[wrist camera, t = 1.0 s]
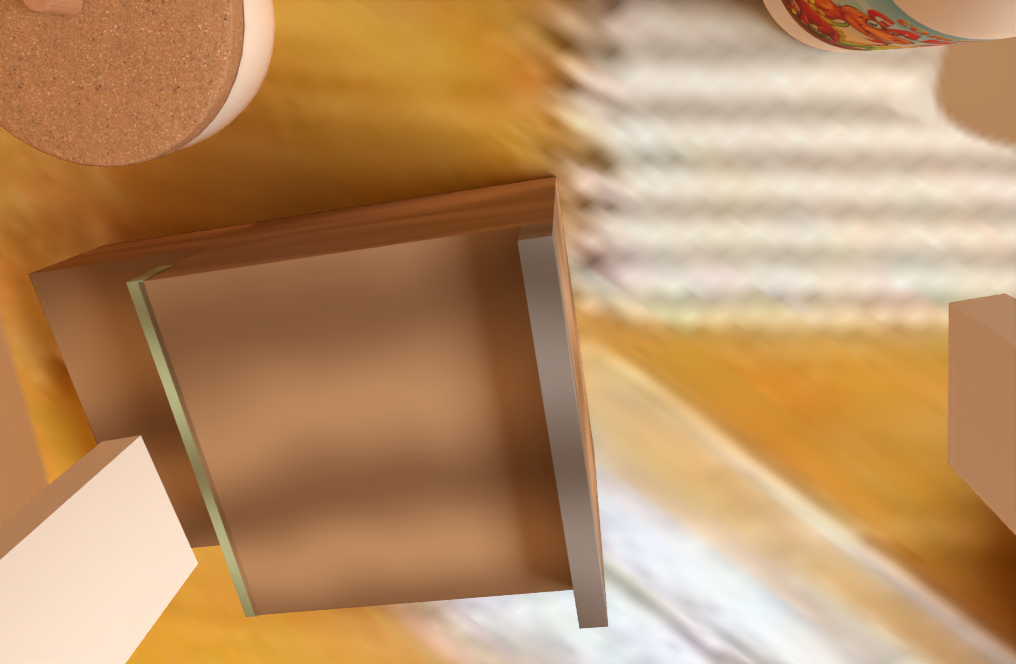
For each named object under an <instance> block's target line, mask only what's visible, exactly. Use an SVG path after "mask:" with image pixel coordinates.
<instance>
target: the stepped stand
mask: <svg viewBox="0 0 1016 664" xmlns="http://www.w3.org/2000/svg"><path fill="white" fill-rule="evenodd" d="M29 276H30V279H31V281H32V284H33V286H34V289H35V291H36V294H37V296H38V299H39V301H40V304H41V306H42V308H43V311H44V313H45V316H46V318H47V321H48V323H49V326H50V328H51V331H52V333H53V336H54V338H55V341H56V343H57V346H58V348H59V350H60V353H61V355H62V358H63V360H64V363H65V365H66V368H67V370H68V373H69V375H70V378H71V380H72V383H73V385H74V387H75V390H76V392H77V395H78V397H79V400H80V402H81V405H82V407H83V410H84V412H85V415H86V417H87V420H88V422H89V425H90V427H91V429H92V432H93V434H94V437H95V439H96V442H97V444H99V443H101V442H103V441H109V440H115V439H121V438H127V437H134V436H140V435H141V437H142V439H143V441H144V444H145V446H146V448H147V450H148V453H149V455H150V457H151V459H152V462H153V464H154V466H155V468H156V470H157V473H158V475H159V477H160V479H161V482H162V484H163V486H164V488H165V491H166V493H167V495H168V497H169V500H170V502H171V504H172V506H173V509H174V511H175V513H176V515H177V518H178V520H179V522H180V524H181V527H182V529H183V531H184V533H185V536H186V538H187V540H188V542H189V544H190V547H191V548H195V547H206V546H217V545H220V546H221V549H222V551H223V554H224V557H225V560H226V563H227V565H228V568H229V571H230V574H231V577H232V579H233V582H234V585H235V588H236V591H237V593H238V596H239V599H240V602H241V604H242V607H243V610H244V613H245V616H246V617H252V616H260V615H264V614H277V613H289V612H302V611H314V610H327V609H339V608H352V607H364V606H376V605H389V604H401V603H414V602H426V601H439V600H451V599H464V598H476V597H488V596H501V595H513V594H526V593H538V592H551V591H563V590H574V597H575V603H576V609H577V615H578V622H579V628H594V627H607V626H608V618H607V606H606V593H605V581H604V568H603V556H602V544H601V531H600V519H599V506H598V494H597V481H596V469H595V457H594V447H593V440H592V433H591V426H590V418H589V411H588V404H587V397H586V389H585V382H584V375H583V367H582V360H581V353H580V346H579V338H578V331H577V324H576V316H575V309H574V302H573V295H572V287H571V280H570V273H569V265H568V258H567V251H566V244H565V236H564V229H563V222H562V214H561V207H560V200H559V193H558V185H557V178H556V176H554V177H547V178H541V179H534V180H528V181H521V182H515V183H509V184H502V185H496V186H489V187H483V188H476V189H470V190H463V191H457V192H450V193H444V194H437V195H431V196H424V197H418V198H411V199H405V200H398V201H392V202H385V203H379V204H372V205H366V206H359V207H353V208H346V209H340V210H333V211H327V212H320V213H314V214H307V215H301V216H295V217H288V218H282V219H275V220H269V221H262V222H256V223H249V224H243V225H236V226H230V227H223V228H217V229H210V230H204V231H197V232H191V233H184V234H178V235H171V236H165V237H158V238H152V239H145V240H139V241H132V242H126V243H119V244H113V245H106V246H101V247H99V248H96V249H94V250H91V251H88V252H86V253H83V254H80V255H78V256H75V257H73V258H70V259H67V260H65V261H62V262H59V263H57V264H54V265H52V266H49V267H46V268H44V269H41V270H38V271H36V272H33V273H31V274H29Z"/></svg>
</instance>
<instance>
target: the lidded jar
mask: <svg viewBox="0 0 1016 664" xmlns="http://www.w3.org/2000/svg"><path fill="white" fill-rule="evenodd" d="M274 35H275V23H274V7H273V1H272V0H0V126H2V127H3V128H4V129H6V130H7V131H8V132H10V133H11V134H12V135H13V136H15V137H16V138H18V139H20V140H22V141H23V142H25V143H27V144H28V145H30V146H32V147H34V148H35V149H37V150H39V151H42V152H44V153H47V154H49V155H52V156H54V157H56V158H59V159H62V160H66V161H70V162H74V163H78V164H82V165H89V166H100V167H115V166H129V165H134V164H138V163H142V162H146V161H150V160H154V159H158V158H161V157H163V156H165V155H167V154H170V153H172V152H174V151H178V150H181V149H185V148H188V147H190V146H192V145H194V144H197V143H199V142H201V141H203V140H205V139H207V138H209V137H211V136H213V135H215V134H216V133H218V132H219V131H220V130H222V129H223V128H225V127H226V126H227V125H229V124H230V123H231V122H232V121H234V120H235V119H236V118H237V117H238V116H239V115H240V114H241V113H242V112H243V111H244V110H245V108H246V107H247V106H248V105H249V104H250V103H251V101H252V100H253V98H254V97H255V95H256V94H257V92H258V91H259V89H260V87H261V85H262V83H263V80H264V78H265V76H266V74H267V71H268V68H269V64H270V60H271V56H272V53H273V44H274Z"/></svg>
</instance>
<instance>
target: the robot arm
mask: <svg viewBox="0 0 1016 664" xmlns="http://www.w3.org/2000/svg"><path fill="white" fill-rule="evenodd" d="M948 464H949V465H950V466H951V467H952V469H953V470H954V471H955V472H956V473H957V474H958V475H959V476H960V477H961V478H962V479H963V480H964V481H965V482H966V483H967V484H968V485H969V487H970V488H971V489H972V490H973V491H974V492H975V493H976V494H977V495H978V496H979V497H980V498H981V499H982V500H983V501H984V502H985V504H986V505H987V506H988V507H989V508H990V509H991V510H992V511H993V512H994V513H995V514H996V515H997V516H998V517H999V518H1000V519H1001V520H1002V522H1003V523H1004V524H1005V525H1006V526H1007V527H1008V528H1009V529H1010V530H1011V531H1012V532H1013V533H1014V534H1015V535H1016V299H1015V298H1013V297H1011V296H1009V295H1007V294H1000V295H994V296H988V297H981V298H975V299H969V300H963V301H957V302H951V303H949V390H948ZM197 564H198V562H197V560H196V558H195V556H194V553H193V551H192V549H191V547H190V544H189V542H188V540H187V538H186V536H185V533H184V531H183V529H182V527H181V524H180V522H179V520H178V518H177V515H176V513H175V511H174V509H173V506H172V504H171V502H170V500H169V497H168V495H167V493H166V491H165V488H164V486H163V484H162V482H161V479H160V477H159V475H158V473H157V470H156V468H155V466H154V464H153V462H152V459H151V457H150V455H149V453H148V450H147V448H146V446H145V444H144V441H143V439H142V437H141V435H140V436H134V437H127V438H121V439H115V440H109V441H103V442H101V443H99V444H98V445H97V446H96V447H94V448H93V449H92V450H91V451H90V452H88V453H87V454H86V455H85V456H84V457H82V458H81V459H80V460H79V461H78V462H76V463H75V464H74V465H73V466H71V467H70V468H69V469H68V470H67V471H65V472H64V473H63V474H62V475H61V476H59V477H58V478H57V479H56V480H54V481H53V482H52V483H51V484H50V485H48V486H47V487H46V488H45V489H44V490H42V491H41V492H40V493H39V494H38V495H36V496H35V497H34V498H33V499H31V500H30V501H29V502H28V503H27V504H25V505H24V506H23V507H22V508H21V509H19V510H18V511H17V512H16V513H15V514H13V515H12V516H11V517H10V518H8V519H7V520H6V521H5V522H4V523H3V524H1V525H0V664H125V663H126V662H127V660H128V659H129V657H130V656H131V655H132V653H133V652H134V651H135V649H136V648H137V647H138V645H139V644H140V642H141V641H142V640H143V638H144V637H145V636H146V634H147V633H148V631H149V630H150V629H151V627H152V626H153V625H154V623H155V622H156V620H157V619H158V618H159V616H160V615H161V614H162V612H163V611H164V609H165V608H166V607H167V605H168V604H169V603H170V601H171V600H172V598H173V597H174V596H175V594H176V593H177V592H178V590H179V589H180V587H181V586H182V585H183V583H184V582H185V581H186V579H187V578H188V577H189V575H190V574H191V572H192V571H193V570H194V568H195V567H196V566H197Z"/></svg>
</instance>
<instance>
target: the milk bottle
mask: <svg viewBox="0 0 1016 664" xmlns="http://www.w3.org/2000/svg"><path fill="white" fill-rule="evenodd" d="M763 2H764V4H765V6H766V8H767V9H768V11H769V13H770V14H771V16H772V17H773V18H774V20H775V21H776V22H777V23H778V24H779V26H780V27H781V28H782V29H784V30H785V31H786V32H787V33H788V34H789V35H791V36H792V37H794V38H795V39H797V40H799V41H801V42H803V43H804V44H807V45H809V46H812V47H815V48H819V49H823V50H830V51H849V52H851V51H869V50H885V49H900V48H915V47H928V46H940V45H951V44H963V43H974V42H981V41H988V40H995V39H1001V38H1009V37H1015V36H1016V0H763Z"/></svg>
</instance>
